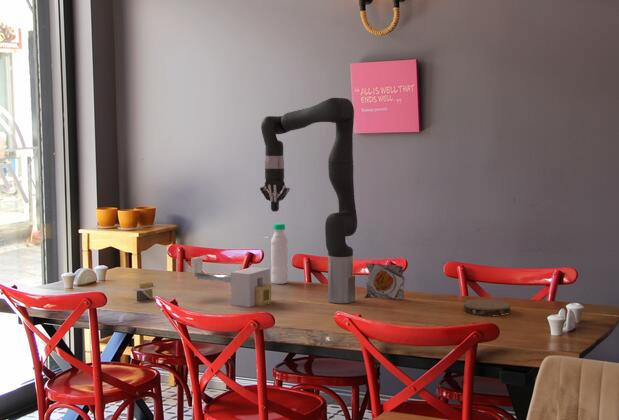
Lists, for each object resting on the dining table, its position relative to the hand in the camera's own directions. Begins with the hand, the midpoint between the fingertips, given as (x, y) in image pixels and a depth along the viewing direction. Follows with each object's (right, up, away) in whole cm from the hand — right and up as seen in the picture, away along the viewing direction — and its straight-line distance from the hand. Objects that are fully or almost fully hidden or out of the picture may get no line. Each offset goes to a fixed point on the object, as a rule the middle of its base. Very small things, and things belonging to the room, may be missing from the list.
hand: (274, 211), depth 321 cm
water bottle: (+1, -30, +21) cm, 37 cm away
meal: (+42, -33, -12) cm, 55 cm away
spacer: (-3, -34, -22) cm, 41 cm away
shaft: (-19, -27, -14) cm, 36 cm away
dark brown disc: (+76, -36, -36) cm, 91 cm away
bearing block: (-8, -34, -20) cm, 40 cm away
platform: (-48, -34, -13) cm, 60 cm away
